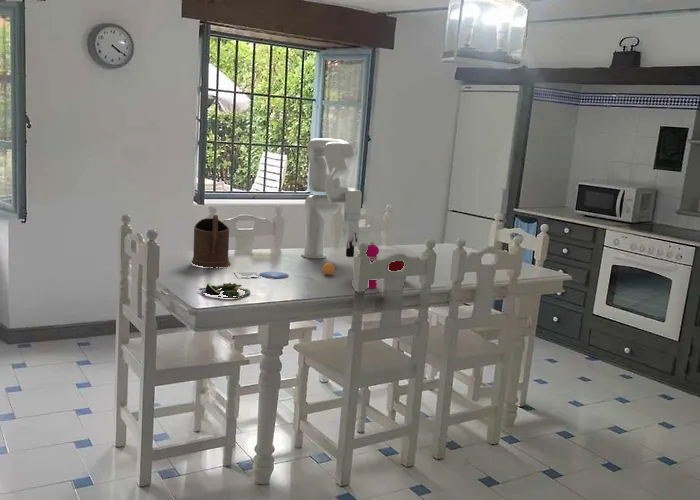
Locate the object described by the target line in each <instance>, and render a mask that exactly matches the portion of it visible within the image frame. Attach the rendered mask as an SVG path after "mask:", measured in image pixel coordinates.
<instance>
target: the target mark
mask: <svg viewBox="0 0 700 500" xmlns="http://www.w3.org/2000/svg"><path fill="white" fill-rule="evenodd" d="M258 275H259V276H260V277H261V276H262V278H264V277H265V278H264V279H270V278H273V279H272V280H277V279H279V280H280V279H281V280H282V278H283V279H287V278H289V277H290V275H289V274H288V273H285V272H282V271H263V272H260V273H259V274H258Z"/></svg>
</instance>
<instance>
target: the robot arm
mask: <svg viewBox="0 0 700 500" xmlns="http://www.w3.org/2000/svg"><path fill="white" fill-rule="evenodd" d="M306 148H307V149H306V151H307V158H308V163H309V172H308V173H309V176H308V187H309V190H310V191H311V192H314V193H315V192H316V193H325V194H311V195H308V196H307V197H306V198H305V201H304V207H305V235H304V251H303V252H300V253H301V254H300V256H301V257H303V258H307V259H312V260H313V259H325V258H326V257H327V255H326V254H325V253H324V244H325V243H324V242H325V230H326V229H325V227H326V226H325V225H326V223H325V220H324V218H323V216H322V215H323V214H325V215H327V214H328V215H329V214H336V213H337V212H338V211H339V210H340V205H341V204H344V208H343V226H342V233H341V234H342V235H341V238H342V240H343V241H344V242H346V243H345V245H346V246H345V247H346V249H345V257H347V258H354V257H355V246H356V243H358V242H359V235H360V223H359V222H360V221H361V213H362V211H361V210H362V195H363V194H362V191H361V190H359V189H356V188H355V187H349V186H348V187H345V186H344V187H343V186H341V179H340V177H342V176H343V175H345V174H346V173H347V171H348V166H347V162H346V161H350V160H352V159H353V157H354V153H355V151H354V147H353V145H352V144H351V143H350V142H348V141H346V140H345V141H344V139H343V140H342V139H339V138H338V139H336V138H323V137H322V138H321V137H320V138H319V137H318V138H313V139H310V140H309V142H308V144H307V147H306ZM327 168H328V171H329V172H327Z"/></svg>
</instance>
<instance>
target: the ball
mask: <svg viewBox="0 0 700 500" xmlns="http://www.w3.org/2000/svg"><path fill="white" fill-rule="evenodd" d="M321 269H322V272H323V274H324V275H326V276H331V275H333V274H334V272H335V266H334V264H333V263H331V262H326V263H324V265H322V268H321Z"/></svg>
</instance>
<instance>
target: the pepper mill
mask: <svg viewBox="0 0 700 500" xmlns="http://www.w3.org/2000/svg"><path fill="white" fill-rule="evenodd" d="M367 246H368V250H367V252H366V253H365V255H366V254H367V256H368V257H369V258H370V261H371V262H373V261H374V260H376V261H377V260H378V255H379V252H380V250H379V246H378V245H375V241H373V240H371V241H370V244H368V245H367ZM377 281H378V280H369V288H368V289H376V288H377V284H378V283H377Z"/></svg>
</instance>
